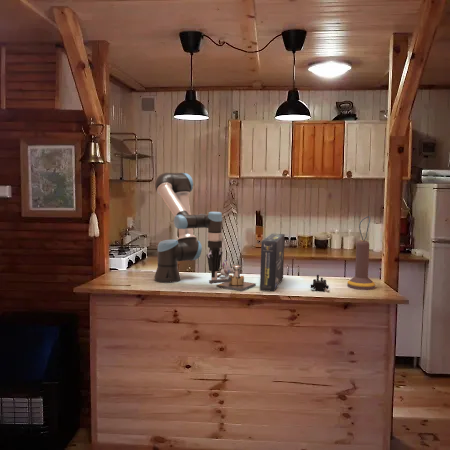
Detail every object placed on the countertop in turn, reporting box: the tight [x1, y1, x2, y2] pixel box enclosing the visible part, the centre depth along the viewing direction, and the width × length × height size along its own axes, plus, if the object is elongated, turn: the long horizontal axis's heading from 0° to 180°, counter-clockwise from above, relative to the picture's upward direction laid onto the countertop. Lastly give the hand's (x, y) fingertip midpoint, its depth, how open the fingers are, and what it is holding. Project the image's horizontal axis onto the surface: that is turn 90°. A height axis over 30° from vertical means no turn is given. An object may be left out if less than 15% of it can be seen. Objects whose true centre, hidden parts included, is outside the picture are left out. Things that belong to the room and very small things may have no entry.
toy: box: [310, 274, 329, 293], centre depth 274 cm, size 10×5×30 cm
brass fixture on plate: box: [216, 264, 257, 292], centre depth 267 cm, size 16×16×12 cm
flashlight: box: [347, 216, 376, 291], centre depth 271 cm, size 15×40×15 cm
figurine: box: [217, 259, 233, 278], centre depth 295 cm, size 12×9×15 cm
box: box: [259, 233, 286, 292], centre depth 274 cm, size 35×9×28 cm, turn 166°
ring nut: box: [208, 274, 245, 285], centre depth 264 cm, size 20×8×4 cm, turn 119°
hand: (214, 282), depth 264 cm, fingers closed
